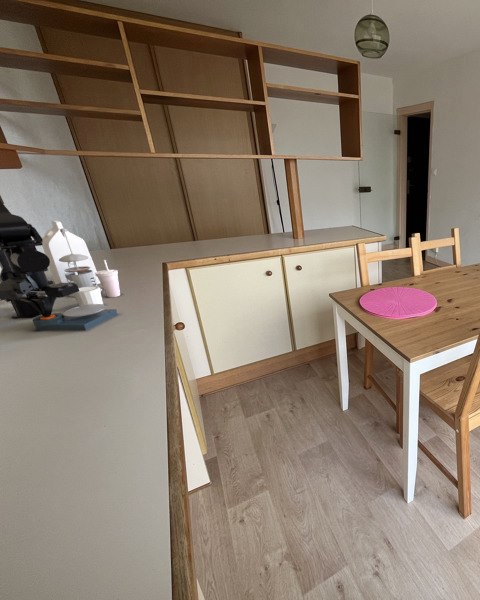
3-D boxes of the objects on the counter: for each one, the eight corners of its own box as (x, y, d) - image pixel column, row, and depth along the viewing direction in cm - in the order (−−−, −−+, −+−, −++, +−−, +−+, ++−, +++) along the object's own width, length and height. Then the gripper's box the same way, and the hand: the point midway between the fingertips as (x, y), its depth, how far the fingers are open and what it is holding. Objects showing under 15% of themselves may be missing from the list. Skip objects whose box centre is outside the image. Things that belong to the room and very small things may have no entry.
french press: (73, 298, 117) (47, 231, 108) (63, 292, 122) (38, 228, 113) (106, 291, 125) (85, 228, 116) (95, 286, 130) (75, 225, 121)
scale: (30, 332, 92) (26, 321, 90) (72, 314, 104) (68, 304, 103) (83, 332, 93) (78, 321, 91) (117, 314, 105) (114, 304, 103)
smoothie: (128, 294, 122) (118, 259, 117) (110, 299, 117) (98, 263, 112) (117, 292, 124) (106, 257, 119) (98, 297, 119) (86, 261, 114)
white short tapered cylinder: (89, 312, 106) (82, 292, 103) (73, 310, 107) (66, 291, 104) (110, 305, 112) (104, 286, 110) (95, 303, 113) (89, 284, 111)
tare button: (38, 323, 92) (36, 318, 92) (49, 319, 95) (47, 314, 95) (49, 323, 93) (47, 318, 92) (60, 319, 96) (58, 314, 95)
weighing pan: (53, 317, 94) (52, 316, 93) (82, 304, 103) (82, 303, 103) (88, 317, 94) (87, 316, 94) (114, 304, 103) (114, 303, 103)
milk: (101, 283, 134) (80, 221, 124) (64, 290, 125) (38, 224, 115) (91, 278, 140) (71, 218, 130) (55, 284, 131) (30, 221, 121)
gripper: (-46, 274, 80) (-18, 328, 85) (31, 274, 81) (54, 328, 86) (3, 263, 90) (25, 312, 96) (71, 263, 91) (89, 312, 97)
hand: (47, 316), depth 93 cm, fingers closed, pressing on tare button
